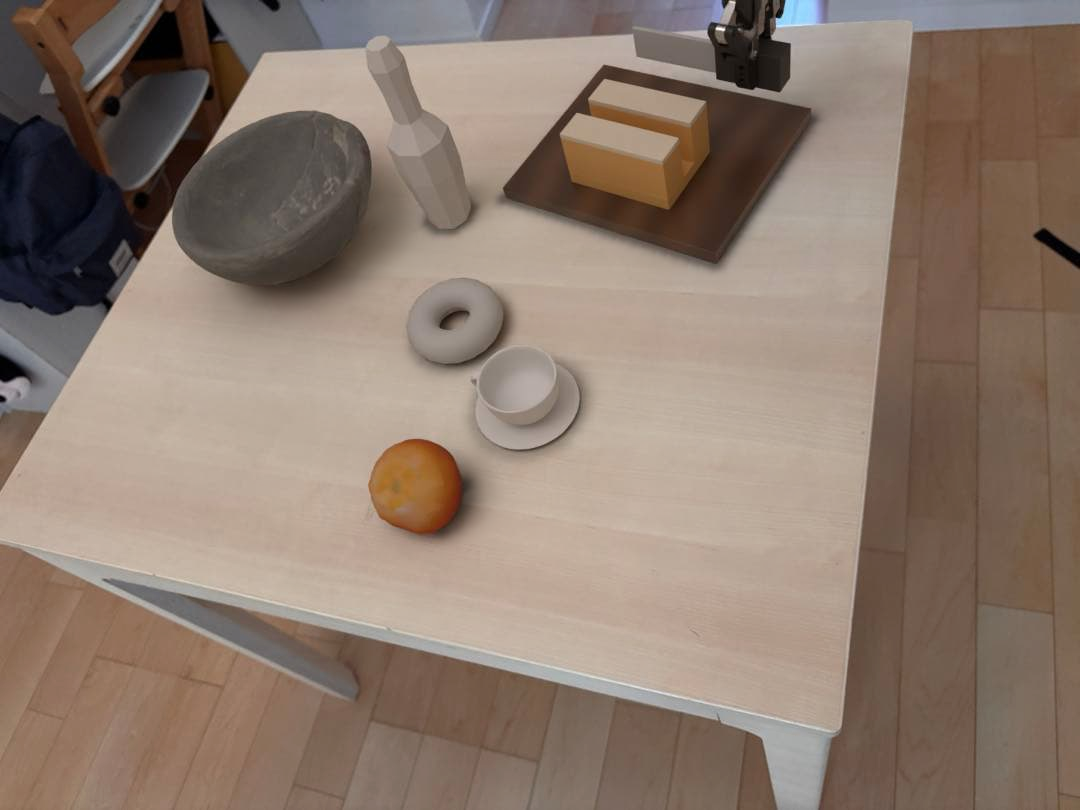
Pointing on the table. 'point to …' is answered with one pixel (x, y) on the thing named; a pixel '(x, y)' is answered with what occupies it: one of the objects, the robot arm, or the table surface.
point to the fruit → (416, 486)
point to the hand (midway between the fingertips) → (753, 76)
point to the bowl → (274, 198)
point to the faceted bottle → (419, 141)
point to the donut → (464, 338)
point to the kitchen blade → (714, 56)
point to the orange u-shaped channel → (637, 142)
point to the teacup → (524, 397)
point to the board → (710, 196)
